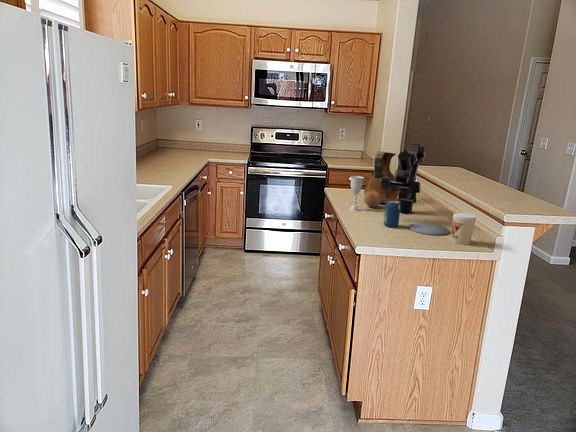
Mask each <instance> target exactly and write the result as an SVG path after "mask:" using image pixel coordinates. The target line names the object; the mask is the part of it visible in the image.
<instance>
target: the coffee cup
mask: <svg viewBox="0 0 576 432" xmlns="http://www.w3.org/2000/svg"><path fill="white" fill-rule="evenodd" d="M476 220H477V217H476V215H474V214H472V213H468V212H467V213H466V212H455V213H454V214H453V215H452V226H451V227H452V228H451V242H452V243H454V244H458V245H461V246H462V245H464V246H465V245H468V246H469V245H470V244H471V242H472V237H473V233H474V228H475V224H476Z"/></svg>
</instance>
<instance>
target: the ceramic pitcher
mask: <svg viewBox="0 0 576 432" xmlns="http://www.w3.org/2000/svg"><path fill="white" fill-rule="evenodd" d="M376 152H377V153H376V155H375V157H374V162H373V163H374V165H373V167H374V173H373V174H372V175H371V176H369V178H368V180H367V182H366V184H365V186H364V191H363V194H364V196H365V194H366V193H367V192H369V191H372V190H374V191H376V192H377V193H378V194H379V195H380V196H381V202H380V203H382V204H386V203H387V201H390V200H392V201H398V194H399V190H400V189H399V188H400V187H399V186H390V192H389V196H388V198H387V195H386V190H384V188H382V185H381V179H382V178H390V181H394V182H395V181H396V180H395V174H393V173H392V172H391V162H392V158H393V157H395V156H396V155H397V154H396V153H393V152H389V151H388V152H387V151H384V150H383V151H376Z"/></svg>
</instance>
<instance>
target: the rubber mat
mask: <svg viewBox="0 0 576 432" xmlns="http://www.w3.org/2000/svg"><path fill="white" fill-rule="evenodd" d="M408 230H410V231H412V232H415V233H417V234H422V235H426V236H447V235H449V233H450V229H449V228H447V227H445V226H442V225H439V224H434V223H427V222H414V223H411V224H409V225H408Z"/></svg>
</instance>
